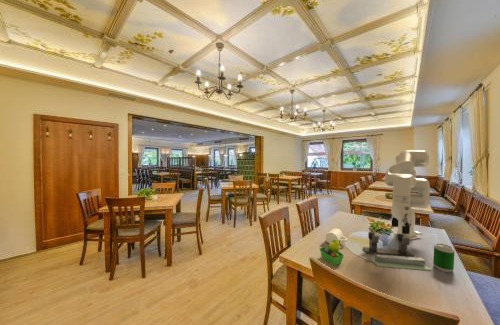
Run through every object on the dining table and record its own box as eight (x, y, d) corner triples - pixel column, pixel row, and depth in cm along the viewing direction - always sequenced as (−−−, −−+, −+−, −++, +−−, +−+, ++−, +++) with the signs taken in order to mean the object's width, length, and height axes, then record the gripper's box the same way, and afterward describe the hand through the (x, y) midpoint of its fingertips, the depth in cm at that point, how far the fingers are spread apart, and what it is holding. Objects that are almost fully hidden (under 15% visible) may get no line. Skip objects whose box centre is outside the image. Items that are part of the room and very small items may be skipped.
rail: (421, 263, 106) (421, 257, 106) (425, 266, 103) (425, 260, 103) (374, 259, 110) (374, 254, 110) (377, 262, 107) (377, 257, 107)
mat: (420, 262, 108) (420, 261, 108) (431, 270, 100) (431, 269, 100) (370, 258, 112) (370, 257, 112) (377, 266, 104) (377, 265, 104)
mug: (325, 242, 131) (325, 231, 131) (331, 238, 139) (331, 227, 138) (344, 248, 123) (344, 236, 123) (349, 243, 131) (349, 231, 130)
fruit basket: (318, 256, 114) (318, 237, 113) (330, 254, 117) (331, 235, 116) (333, 267, 103) (333, 246, 102) (346, 264, 106) (346, 243, 105)
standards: (407, 252, 119) (407, 234, 119) (414, 257, 113) (415, 238, 112) (362, 248, 123) (363, 231, 123) (367, 253, 117) (367, 235, 116)
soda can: (455, 274, 97) (457, 251, 96) (435, 270, 101) (436, 247, 100) (450, 267, 103) (451, 245, 103) (431, 263, 107) (432, 241, 107)
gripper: (420, 202, 96) (418, 237, 97) (399, 195, 113) (398, 224, 114) (403, 202, 97) (402, 236, 98) (385, 194, 115) (384, 223, 115)
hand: (400, 229), depth 106 cm, fingers open, 9 cm apart
